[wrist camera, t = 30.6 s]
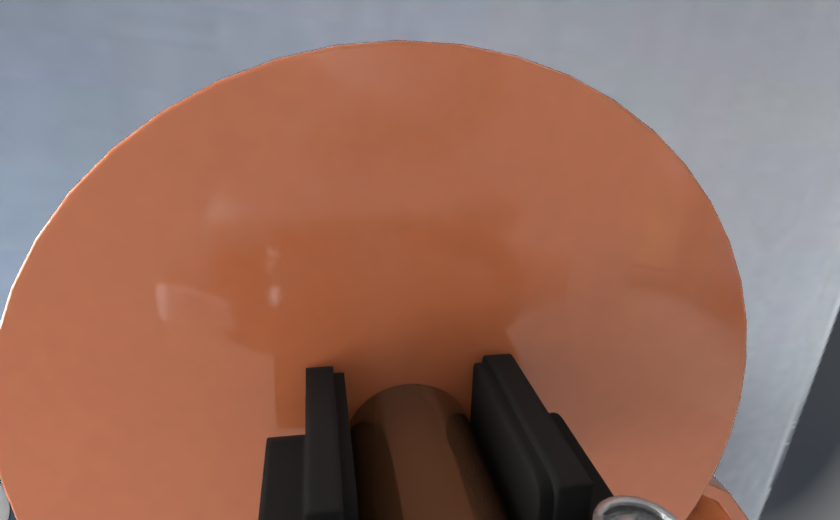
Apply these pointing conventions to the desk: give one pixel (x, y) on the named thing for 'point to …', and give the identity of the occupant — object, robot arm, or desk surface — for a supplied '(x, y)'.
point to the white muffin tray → (4, 504)
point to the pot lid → (369, 292)
